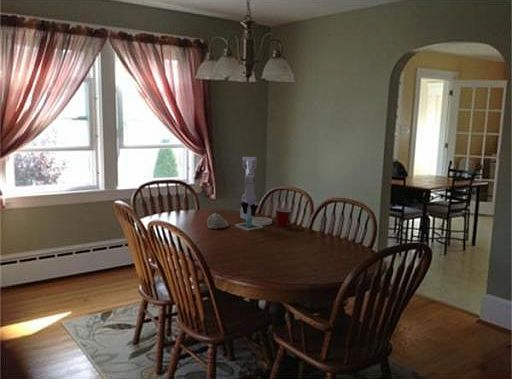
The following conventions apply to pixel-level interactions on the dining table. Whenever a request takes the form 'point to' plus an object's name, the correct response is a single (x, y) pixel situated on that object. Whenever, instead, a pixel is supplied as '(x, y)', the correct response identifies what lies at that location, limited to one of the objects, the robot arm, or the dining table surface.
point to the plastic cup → (282, 216)
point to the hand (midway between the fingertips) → (249, 214)
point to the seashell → (216, 222)
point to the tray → (247, 228)
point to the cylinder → (249, 222)
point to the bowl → (261, 220)
